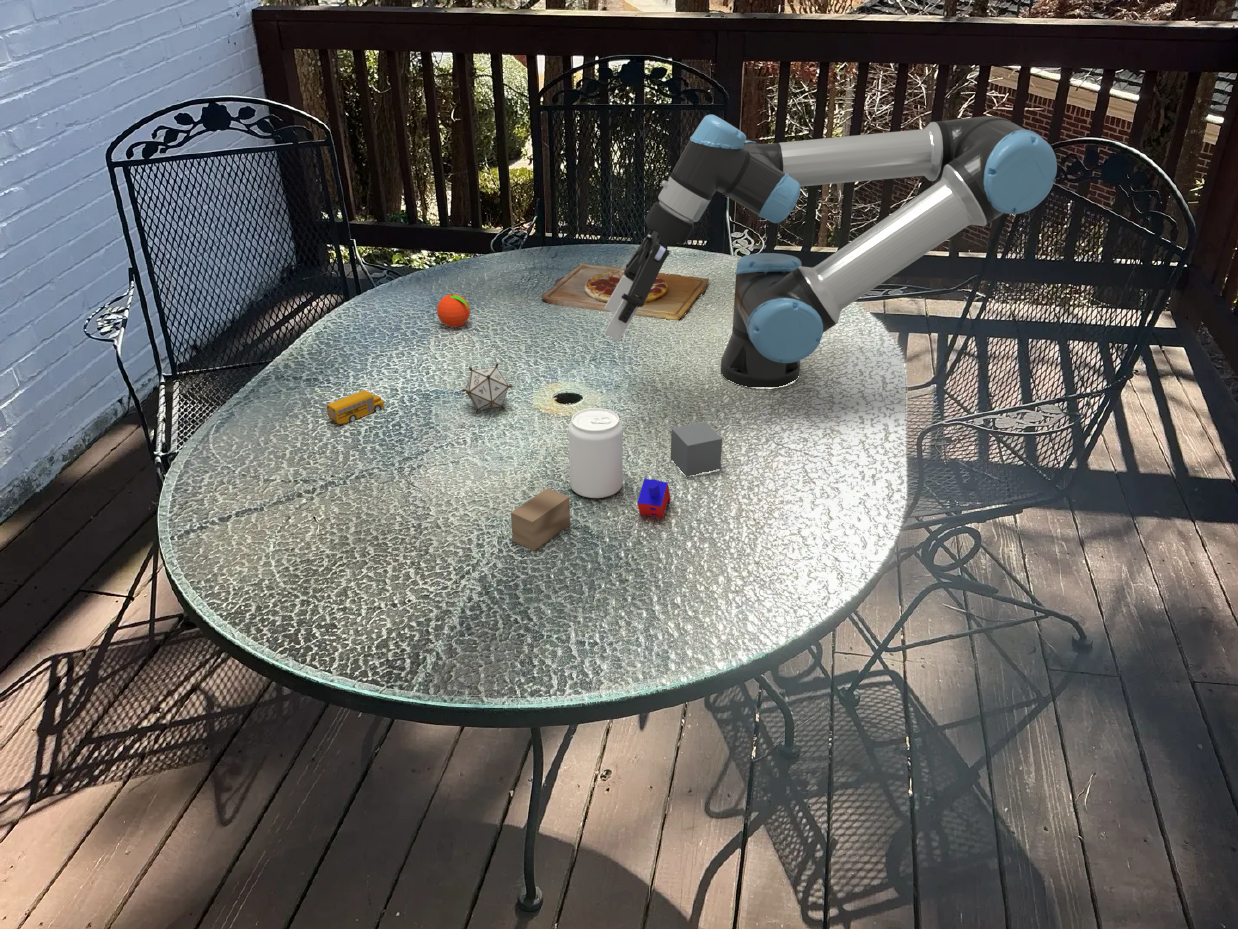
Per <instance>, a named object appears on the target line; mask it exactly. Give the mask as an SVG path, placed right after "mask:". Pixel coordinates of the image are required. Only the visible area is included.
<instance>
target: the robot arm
mask: <svg viewBox="0 0 1238 929" xmlns="http://www.w3.org/2000/svg"><path fill="white" fill-rule="evenodd" d="M1057 171H1058V163H1057V157H1056V153H1055V152H1054V149H1053V147H1052V146H1051V145H1050V143H1048V141H1046V140H1045V139H1043V137H1042V136H1041V135H1040V134H1038V133H1036V132H1035V131H1033V130H1031V129H1030V130H1029V129H1026V128H1023V127H1021V126H1019V125H1018V124H1016V123H1014V122H1013V121H1011V120H1009V119H1007V118H1005V117H1001V116H986V115H985V116H976V117H975V116H974V117H966V118H958V119H950V120H942V121H941V120H939V121H931V122H929V123H928V125H926V127H925V128H923V129H913V130H912V129H911V130H903V131H901V130H900V131H891V132H881V133H880V132H878V133H869V134H868V133H867V134H859V135H858V134H857V135H847V136H837V137H836V136H835V137H829V138H828V137H827V138H816V139H806V140H805V139H804V140H796V141H786V142H784V141H783V142H774V143H758V142H756V141H752V140H747V136H746V134H745V133H744V132H743V131H741V130H739V128H737V127H736V126H734V125H732V124H731V123H729V122H727V121H726V120H724V119H722V118H720V117H719V116H717V115H715V114H707V115H705V116H704V117H703V119H702V120H701V122H700V123H699V124H698V126H697V127H696V129H695V130H694V132H693V134H692V135H691V136H690V137H689V141H688V142H687V144H686V146H685V148H684V150H683V151H682V153H681V155H680V157H679V159H678V161H677V162H676V164H675V166H674V168H673V169H672V172H670V175H669V177H668V180H665V179H664V180H662V181H661V183H660V185H661V186H662V189H661V190H660V192H659V194H658V200H659V201H656V202H654V203H653V204H652V206H651V208H650V209H649V211H648V213H647V214H646V216H645V218H644V222H645V224H646V225H647V227H648V228H649V231H648V232H647V234H646V236H645V238H644V239H643V241H642V242H641V243H640V245H639V246H638V247H637V250H636V251H635V252H634V253H633V255H632V257H631V258H630V260H629V261H628V263H626V265H625V269H626V270H625V271H624V275H626V276H624V275H623V276H622V278H621V280H620V281H619V283H618V285H617V287H616V288H615V290H614V292H613V294H612V295H611V297H610V299H609V301H608V302H607V304H606V306H605V309H607V310H609V311H611V312H612V313H613V314H614V315H613V316H612V317H611V320H610V321H609V323H608V325H607V326H606V328H605V330H604V332H603V333H604V334H605V335H607V336H609V337H611V338H612V339H615V340H616V341H620V340H621V339H622V337H623V335H624V334H625V332H626V330H627V328H628V326H629V325H630V323H631V321H632V319H633V318H634V317H635V316H634V315H635V313H636V311H637V310H638V308H639V307H642V306H643V305H644V302H645V300H646V298H647V296H648V294H649V292H650V290H651V288H652V286H653V284H654V282H655V280H656V277H657V275H658V273H660V271H661V270H662V267H663V265H664V264H665V261H666V260H667V258H668V257H669V256H670V250H669V249H668V248H669V244H670V242H673V243H675V244H678V245H684V244H686V242H687V240H688V239H689V237H690V236H691V234H692V232H693V230H694V229H695V224H694V223H695V222H699V221H700V219H701V217H702V216H703V214H704V212H705V211H706V209H707V207H708V205H709V204H710V203H711V201H712V198H713V196H714V194H715V193H716V192H719V193H720V194H722V195H723V196H725V197H727V198H729V199H731V200H732V201H734V202H735V203H737V204H739V205H740V206H741V207H744V208H746V209H748V210H749V211H750V212H751V213H754V214H755V215H757V216H758V217H759V218H762V219H765V220H766V221H769V222H771V223H774V224H779V223H781V222H783V221H785V219H786V218H788V216H789V215H790V214H791V213H792V211H793V210H794V208H795V206H796V205H797V203H798V199H799V197H800V195H801V187H810V186H811V187H813V186H821V185H822V186H823V185H832V184H842V183H843V184H844V183H845V184H846V183H855V182H856V183H857V182H866V181H867V182H868V181H869V182H870V181H878V180H880V181H881V180H890V179H899V178H900V179H902V178H911V177H925V178H926V179H927V180H928V181H930V182H935V181H937V182H935V183H934V184H933V185H931V186H930V187H929V188H927V189H925V190H924V191H922V192H921V193H919V195H917V196H916V197H914V198H913V199H911V200H910V201H908V202H906V203H905V204H904V205H901V207H900V208H898V209H897V210H895V211H894V212H892V213H891V214H889V215H888V216H886V217H885V218H884V219H881V221H879V222H877V223H876V224H874V225H873V226H872V227H871V228H869V229H868V230H866V231H865V232H863V233H862V234H860V235H859V236H857V237H856V238H855V239H853V240H851V241H850V242H849V243H847V244H846V245H844V246H843V247H842V248H840V249H839V250H837V251H835V252H834V253H832V254H831V255H830V256H828V257H827V258H826V259H824V260H823V261H821V262H820V263H819V264H816V265H815V266H812V267H811V266H810V267H809V266H803V265H802V261H801V260H800V258H798V257H796V256H794V255H790V254H789V255H788V254H785V253H777V252H776V253H774V252H772V253H770V252H768V253H767V252H762V253H761V252H760V253H759V252H758V253H752V254H751V253H750V254H747V255H743V256H741V257H740V258H739V259H738V261H737V262H736V263H737V264H736V269H735V270H736V271H735V272H734V275H735V283H734V284H735V287H734V303H733V317H732V327H731V328H732V330H731V332H732V333H731V335H730V337H729V340H728V343H727V345H726V346H725V349H724V352H723V354H722V356H721V361H720V374H721V375H722V374H723V376H724V377H725V378H726V379H727V380H726V379H725V378H724V377H723V376H722V377H723V378H724V379H725V380H726V381H728V380H730V381H732V382H734V383H736V384H739V385H743V386H747V387H779V386H783V385H786V384H788V383H790V382H792V381H794V380H796V379H797V378H798V376H799V377H800V375H799V374H800V373H801V361H802V360H804V359H806V358H808V357H810V356H811V355H812V354H813V353H814V352H815V351H816V350H817V349H818V347H819V345H820V343H821V341H822V338H823V334H824V333H826V332H827V331H828V330H830V329H831V328H833V327H834V326H836V325H837V324H838V323H839V321H840V317H841V316H840V315H841V312H842V311H843V310H844V309H845V308H847V307H848V306H849V305H852V303H854V302H855V301H857V300H858V299H860V298H861V297H863V296H864V295H866V294H868V293H869V292H871V291H872V290H873V289H875V288H876V287H878V286H880V285H881V284H882V283H884V282H885V281H887V280H888V279H890V278H892V277H894V275H896V274H898V273H899V272H901V271H902V270H904V269H905V268H907V267H908V266H910V265H912V264H913V263H914V262H916V261H917V260H918V259H920V258H922V257H924V256H925V255H926V254H927V253H929V252H931V251H932V250H933V249H935V248H937V247H938V246H939V245H941V244H943V243H944V242H946V241H947V240H948V239H950V238H952V237H953V236H955V235H956V234H958V233H959V232H961V231H962V230H964V229H965V228H966V227H968V226H971V225H973V226H981V227H985V226H987V225H988V224H990V223H992V222H993V221H994V220H996V219H997V218H999V217H1001V216H1002V215H1003V214H1006V215H1018V214H1023V213H1026V212H1028V211H1030V210H1032V209H1035V208H1036V207H1037V206H1038V205H1039V204H1040V203H1042V201H1043V200H1045V198H1047V196H1048V194H1050V191H1051V189H1052V188H1053V185H1054V181H1055V180H1056V179H1055V178H1056V176H1057ZM633 280H634V281H633ZM636 295H637V296H638V297H637V296H636ZM611 312H610V313H611ZM798 379H799V378H798ZM736 384H735V385H736ZM739 385H738V386H739Z"/></svg>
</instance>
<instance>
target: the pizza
mask: <svg viewBox="0 0 1238 929" xmlns="http://www.w3.org/2000/svg"><path fill="white" fill-rule="evenodd" d="M625 270H626V268H621V267H616V266H609V265H607V266H605V265H601V264H592V263H584V262H582V263H578V265H577V266H576V267H574V268H573V269H572V270H571V271H569V273H567V274H566V275H565V276H562V277H560V278H558V279H556V280H555V283H554V284H553V286H552V287H550V289H548V290H546V291H545V292H544V293H542V294H541V295H540V296H541V298H542V300H544V301H545V303H547V304H549V305H554V306H559V307H561V306H562V307H568V308H569V307H570V308H576V309H584V310H591V311H598V312H605V313H612V312H611V311H609V310H607V309H605V306H606V304H607V302H608V301H609V299H610V297H611V295H612V294H613V292H614V290H615V288H616V287H617V285H618V283H619V281H620V280H621V278H622V276H623V275H624V271H625ZM624 276H626V275H624ZM633 281H634V280H633ZM709 282H710V279H709V278H704V277H696V276H691V275H689V276H686V275H682V274H678V273H677V274H674V273H664V272H659V273H658V275H657V277H656V280H655V282H654V284H653V286H652V288H651V290H650V292H649V294H648V296H647V298H646V300H645V302H644V305H643V306H642V307H639V308H638V310H637V311H636V313H635V315H634V316H633V317H641V316H642V318H643V317H644V318H653V317H654V319H655V320H659V319H666V320H679V319H680V318H681V319H683V318H684V317H685V315H686V314H688V313H689V311H690V309H691V308H690V306H691V307H692V306H693V304H694V303H695V302H694V301H696V300H697V299H699V297H700V296H699V295H701V294H703V295H704V294H705V291H706V288H707V286H708V284H709ZM636 296H637V295H636ZM698 296H699V297H698ZM637 297H638V296H637ZM696 298H697V299H696ZM693 302H694V303H693ZM689 308H690V309H689ZM687 312H688V313H687ZM685 313H686V314H685ZM684 314H685V315H684ZM683 316H684V317H683ZM682 317H683V318H682ZM681 319H680V320H681ZM680 320H679V321H680Z"/></svg>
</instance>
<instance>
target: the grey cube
mask: <svg viewBox="0 0 1238 929" xmlns="http://www.w3.org/2000/svg"><path fill="white" fill-rule="evenodd" d="M670 431H671V433H670V458H671V460H673V461H674V463H675V464H676V466H678V467H679V468H680V470H681V471H682V472H683V473H684V474H685V475H686V477H687V476H690V475H696V474H699V473H702V472H709V471H713V470H716V469H720V470H721V466H722V465H721V464H722V450H723V448H722V447H723V438H722V437H721V436H720V435H719V434H718V433H717V432H716V431H715V430H714V429H713V428H712V427H711V426H710V424H708V422H706V421H701V422H697V423H692V424H688V425H686V424H685V425H682V426H681V425H680V426H677V427H672V428H671V430H670ZM671 460H670V461H671ZM676 466H675V467H676ZM686 477H685V478H686Z"/></svg>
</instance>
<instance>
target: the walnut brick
mask: <svg viewBox="0 0 1238 929" xmlns="http://www.w3.org/2000/svg"><path fill="white" fill-rule="evenodd" d="M570 504H571V502H570V496H568V495H566V494H564V493H561V492H559V491H556V490H554V489H551V488H550V487H547V488H545V489H544V490H543V491H541V492H539V493H537V495H535V496H533V497H532V498H530V499H529V500H527V501H526V502H525V503H523V504H521V505H520V506H518V507H517V508H515V509H514V510H511V512H510V519H511V520H510V521H511V535H512V538H511V539H512V542H514V543H516V544H518V545H520V546H523V547H525V548H527V549H529V550H531V551H536V550H537V549H538V548H540V547H541V546H543V545H544V544H546V543H547V542H549V541H550V540H551V539H553V538H554V537H555V536H557V535H558V534H559V533H561V532H563V531H564V530H565V529H566V528H568V527H570V526H571V509H570V507H571V505H570Z"/></svg>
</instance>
